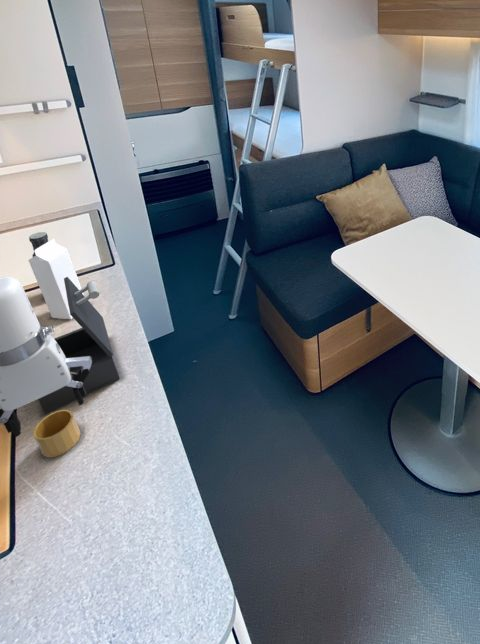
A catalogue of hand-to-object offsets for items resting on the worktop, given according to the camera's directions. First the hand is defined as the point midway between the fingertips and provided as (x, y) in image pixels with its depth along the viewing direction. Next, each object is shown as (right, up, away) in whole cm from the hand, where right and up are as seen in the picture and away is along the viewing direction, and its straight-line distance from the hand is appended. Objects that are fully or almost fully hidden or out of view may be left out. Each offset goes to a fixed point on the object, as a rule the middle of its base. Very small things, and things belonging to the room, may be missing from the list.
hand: (50, 414), depth 77 cm
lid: (-4, +13, +15) cm, 21 cm away
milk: (-25, +7, +38) cm, 46 cm away
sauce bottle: (-34, +10, +46) cm, 58 cm away
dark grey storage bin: (-8, -1, +18) cm, 20 cm away
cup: (0, -7, +3) cm, 8 cm away
